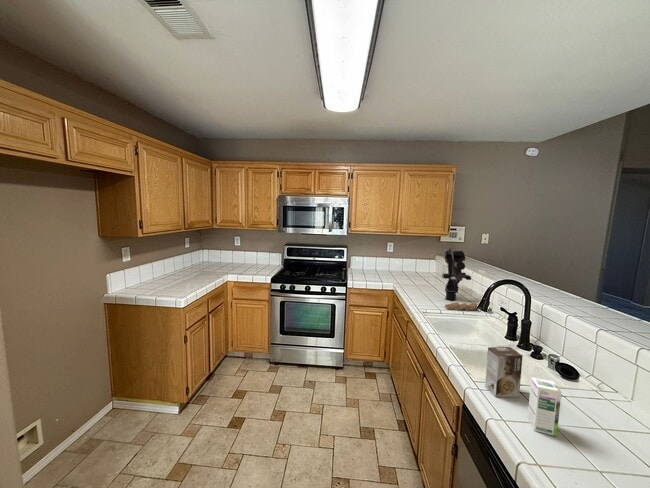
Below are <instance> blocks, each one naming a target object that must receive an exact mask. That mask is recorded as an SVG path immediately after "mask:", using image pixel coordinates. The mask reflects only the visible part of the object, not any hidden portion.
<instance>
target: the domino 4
mask: <svg viewBox="0 0 650 488" xmlns="http://www.w3.org/2000/svg"><path fill="white" fill-rule="evenodd" d="M476 311H477V313H479V312H481V311H478V310H476ZM486 314H490V315H491V314H494V311H493V310H492V311H488V312H487V313H486Z"/></svg>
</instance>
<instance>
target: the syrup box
mask: <svg viewBox="0 0 650 488" xmlns="http://www.w3.org/2000/svg"><path fill="white" fill-rule="evenodd" d="M561 400H562V390H561V389H560V387H559V386H558V385H557V383H556V382H554V380H547V379H542V378H538V377H537V378H536V377H531V378H530V389H529V400H528V401H529V402H528V411H527V412H528V414H527V419H528V420H527V421H528V422H529V424H530V425H531V428H532V430H533V431H534V432H539V433H543V434H547V435H551V436H554V437H558V431H559V430H558V429H559V421H560V420H559V419H560V418H559V417H560V409H561V403H562V401H561Z"/></svg>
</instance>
